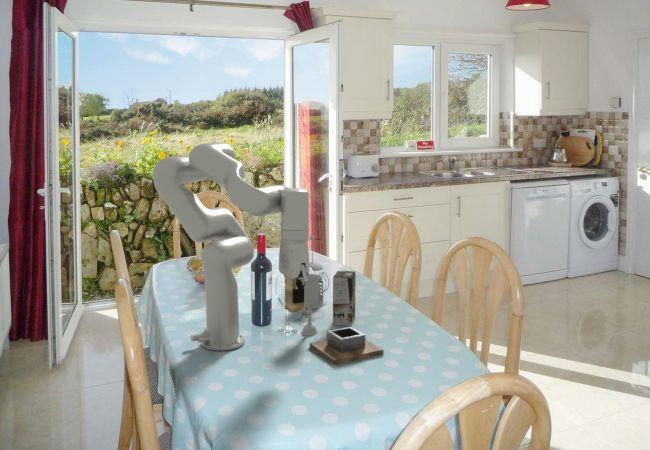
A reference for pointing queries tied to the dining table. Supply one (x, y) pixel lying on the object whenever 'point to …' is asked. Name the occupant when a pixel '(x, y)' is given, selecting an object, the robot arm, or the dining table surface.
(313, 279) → the chalice
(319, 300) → the french press
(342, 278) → the coffee box
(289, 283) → the rail post
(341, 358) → the board
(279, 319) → the dining table surface
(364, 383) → the dining table surface
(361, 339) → the grey square socket
